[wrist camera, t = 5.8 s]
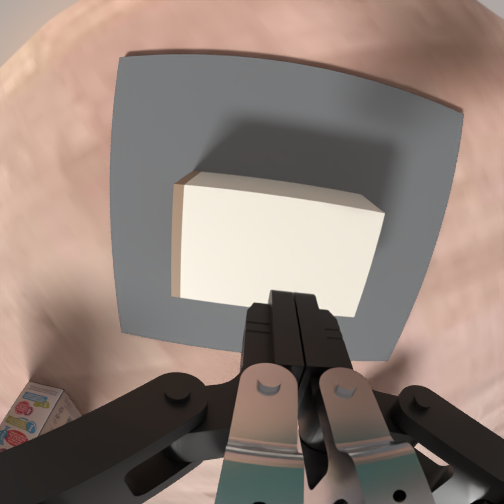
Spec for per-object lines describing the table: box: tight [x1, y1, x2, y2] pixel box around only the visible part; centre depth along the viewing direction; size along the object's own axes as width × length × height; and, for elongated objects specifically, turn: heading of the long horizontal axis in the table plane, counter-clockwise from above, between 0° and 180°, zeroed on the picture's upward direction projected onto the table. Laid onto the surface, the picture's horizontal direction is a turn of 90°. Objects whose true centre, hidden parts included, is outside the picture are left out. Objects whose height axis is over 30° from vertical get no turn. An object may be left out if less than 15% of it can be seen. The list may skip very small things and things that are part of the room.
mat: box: [110, 54, 464, 361], centre depth 18 cm, size 22×20×1 cm
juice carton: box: [0, 381, 82, 452], centre depth 19 cm, size 7×7×22 cm
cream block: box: [171, 171, 385, 317], centre depth 16 cm, size 4×6×10 cm
